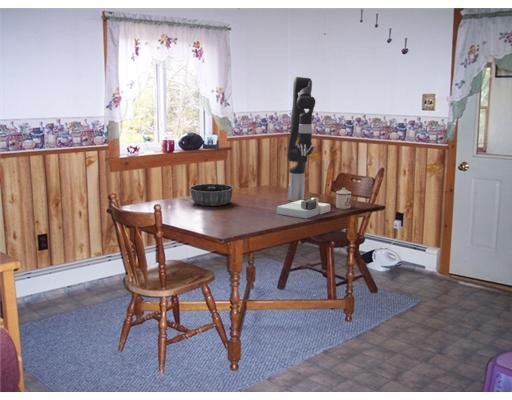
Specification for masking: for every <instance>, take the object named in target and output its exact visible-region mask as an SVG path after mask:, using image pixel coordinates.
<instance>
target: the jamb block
mask: <svg viewBox="0 0 512 400" xmlns="http://www.w3.org/2000/svg"><path fill="white" fill-rule="evenodd" d="M302 201H305V199H304V200H299V201H291V203H292V204H299V205H301V202H302ZM316 207H318V215H323V214H325V213H328V212H331V204H330V203H325V202H319V201H318V205H316Z"/></svg>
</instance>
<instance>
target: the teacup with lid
mask: <svg viewBox="0 0 512 400" xmlns="http://www.w3.org/2000/svg"><path fill="white" fill-rule="evenodd" d="M351 200H352V191H349V190H348V189H346V187H341V189H340V190H336V192H335V207H336V209H341V210H347V209H348V210H349V209H350V208H351V206H352V205H351V202H352V201H351Z"/></svg>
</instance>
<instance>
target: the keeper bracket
mask: <svg viewBox="0 0 512 400" xmlns="http://www.w3.org/2000/svg"><path fill="white" fill-rule="evenodd" d="M315 208H316V201H310V202H308V203H307V210H312V209H315Z"/></svg>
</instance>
